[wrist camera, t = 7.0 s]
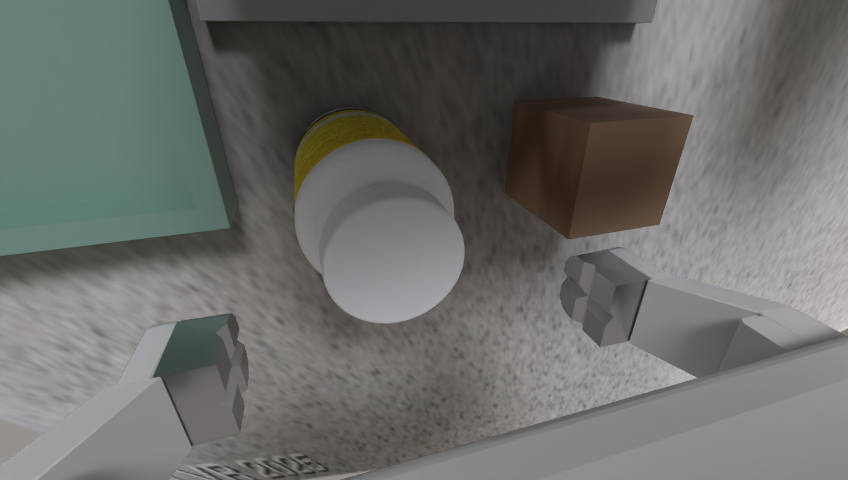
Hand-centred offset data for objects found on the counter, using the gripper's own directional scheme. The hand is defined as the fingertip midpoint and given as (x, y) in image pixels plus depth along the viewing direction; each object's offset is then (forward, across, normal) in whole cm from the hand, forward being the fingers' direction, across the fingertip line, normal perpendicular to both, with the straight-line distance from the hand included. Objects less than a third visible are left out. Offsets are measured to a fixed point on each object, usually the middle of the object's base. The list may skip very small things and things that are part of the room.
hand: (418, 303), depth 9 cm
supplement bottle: (+11, 0, 0) cm, 11 cm away
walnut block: (+11, -11, 0) cm, 16 cm away
